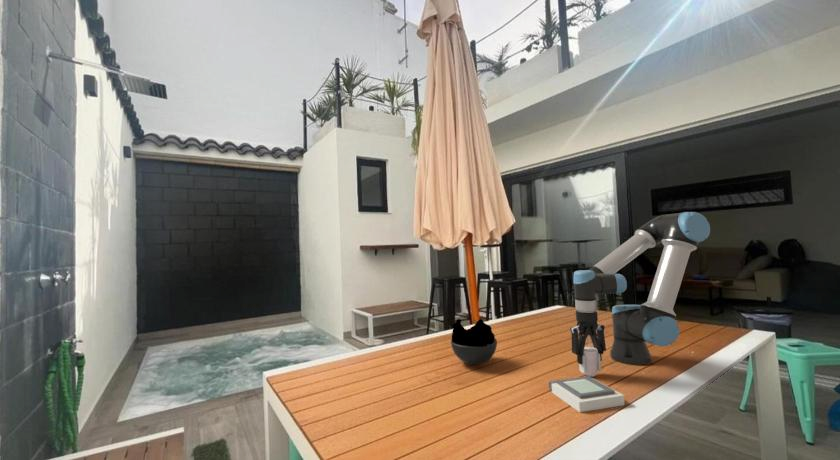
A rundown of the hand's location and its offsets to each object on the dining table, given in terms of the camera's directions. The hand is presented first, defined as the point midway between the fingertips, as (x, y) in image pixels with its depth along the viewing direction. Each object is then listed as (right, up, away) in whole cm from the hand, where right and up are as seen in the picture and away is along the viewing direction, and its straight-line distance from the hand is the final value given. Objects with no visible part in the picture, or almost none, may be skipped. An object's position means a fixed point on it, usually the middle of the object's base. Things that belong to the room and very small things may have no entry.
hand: (590, 370), depth 130 cm
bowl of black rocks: (-42, -4, +18) cm, 45 cm away
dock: (-11, -1, -18) cm, 21 cm away
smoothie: (0, -2, 0) cm, 2 cm away
